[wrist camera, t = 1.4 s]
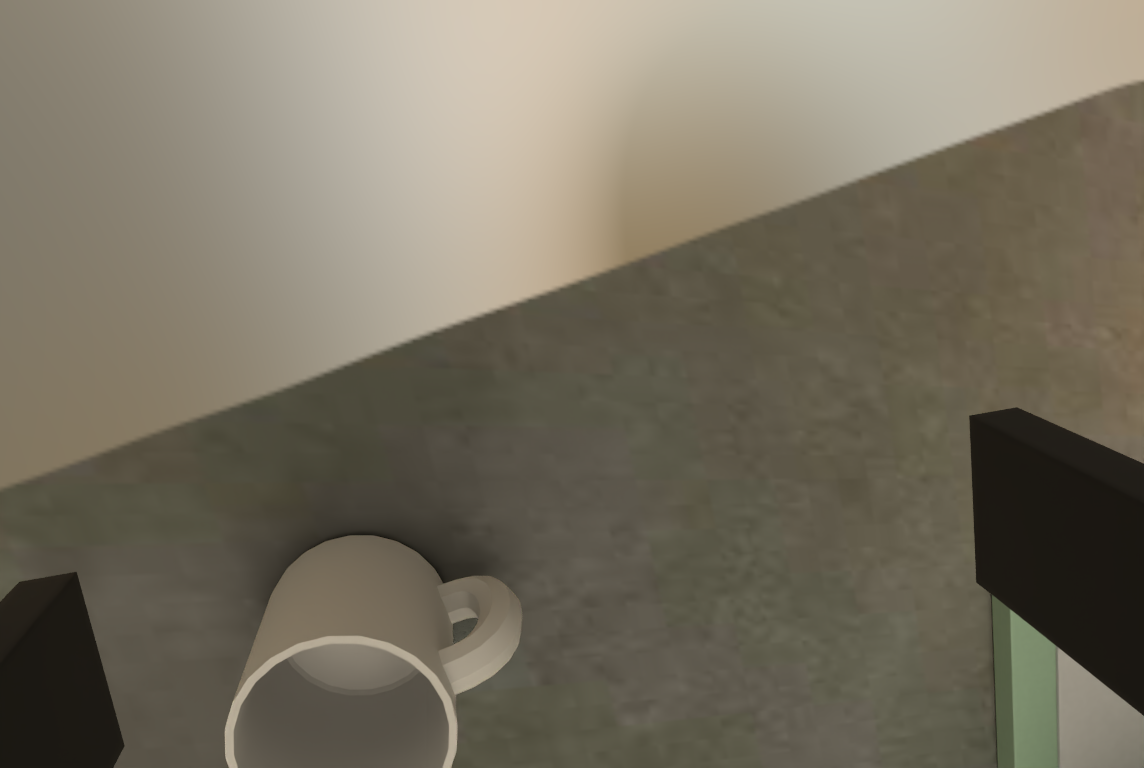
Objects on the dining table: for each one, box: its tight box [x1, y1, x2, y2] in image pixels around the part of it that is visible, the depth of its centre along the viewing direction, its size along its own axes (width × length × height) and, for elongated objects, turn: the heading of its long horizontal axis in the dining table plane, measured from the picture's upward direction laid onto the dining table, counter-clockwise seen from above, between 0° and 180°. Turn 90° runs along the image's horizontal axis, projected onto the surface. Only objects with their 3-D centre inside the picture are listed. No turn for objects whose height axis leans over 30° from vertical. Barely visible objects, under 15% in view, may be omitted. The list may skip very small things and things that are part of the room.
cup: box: [225, 535, 522, 768], centre depth 36 cm, size 7×10×9 cm
